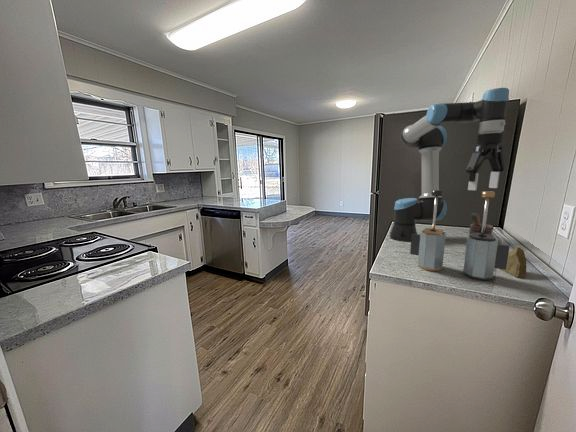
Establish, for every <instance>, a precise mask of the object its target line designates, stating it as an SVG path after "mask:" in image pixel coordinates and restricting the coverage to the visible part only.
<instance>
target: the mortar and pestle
mask: <svg viewBox="0 0 576 432" xmlns="http://www.w3.org/2000/svg"><path fill="white" fill-rule="evenodd" d="M470 216H471V220H472V222H473V223H471V224H470V225H469V231H468V232H469V233H468V235H471V234H472V233H478V234H481V230H482V223H481V222H480V215H479V213H477V212H472V213H471V214H470ZM493 228H494V227H493V225H491V224H487V223H486V227H485V234H487V235H493Z"/></svg>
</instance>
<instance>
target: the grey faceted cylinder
mask: <svg viewBox="0 0 576 432" xmlns="http://www.w3.org/2000/svg"><path fill="white" fill-rule="evenodd" d="M430 234H434V235H430ZM446 237H447V233H446V232H444V230H443V229H437V228H435V231H432V228H430V227H429V228H428V227H425V228H424V229H422V230H421V231H420V233H419V234H418V233H417V234H412V236H411V241H410V250H409V252H410V253H409V254H410V255H413V256H418V260H417V267H418V268H419V269H421V270H423V271H428V272H433V273H434V272H435V273H436V272H442V271H443V266H444V258H445V256H444V255H445V248H446Z"/></svg>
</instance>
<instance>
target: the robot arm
mask: <svg viewBox="0 0 576 432" xmlns="http://www.w3.org/2000/svg"><path fill="white" fill-rule="evenodd" d="M509 96H510V89H509V88H507V87H497V88H492V89H488V90H486V91H484V92H483V95H482V99H480V100H477V101H471V102H470V101H467V102H451V103H450V102H447V103H446V102H445V103H443V102H442V103H441V102H439V103H435V104H434V103H433V104H431V105H430V106H429V107H428V109H427V111H426V115H424V116H423V117H421V118H420V119H419V120H417V121H416V122H414V123H413V124H410V125H407V126H406V127H404V128H403V130H401V133H400V135H399V136H400V137H399V138H400V141H401V143H402V144H403V145H404V146H405V147H408V148H415V149H416V148H418V153H420V154H421V195H420V196H419V197H418V198H416V197H415V198H414V197H408V198H407V197H406V198H399V199H398V200H396V201H395V202H394V207H393V209H394V210H393V212H394V213H393V225H392V228H391V231H390V232H389V238H390V239H392V240H396V241H400V242H411V236H412V234H418V231H417V227H416V226H417V225H416V224H417V223H416V222H418V221H420V222H421V221H424V222H425V221H426V222H427V221H429V222H431V221H432V222H433V214H434V203H435V196H432V190H440V188H439V187H440V186H439V185H440V184H439V183H440V181H439V177H440V173H439V172H440V171H439V168H440V163H439V162H440V161H439V160H440V159H439V157H440V151H441V150H442V149H443V147H444V146H445V144H446V143H447V139H448V138H447V137H448V134H447V130H446V129H445V127H443V126H442V125H444V124H449V123H463V124H473V123H475V122H478V121H479V125H478V130H477V132H478V135H477V139H476V144H477V146H474V147H473V151H472V155H471V157H470V159H469V162H468V164H467V166H466V168H465V172H466V174H469V177H468V186H467V191H477V188H478V182H479V181H478V180H479V173H478V171H479V170H480V169H481V167H482V165H483V164H484V162H485V161H486V160H488V161H489V165H490V168H491V171H490V175H489V183H488V188H489V189H498V188H499V182H500V181H499V180H500V179H499V178H500V173H501V172H504V170H505V164H504V155H503V146H502V145H500V146H498V145H499V144H502V143H503V138H504V133H503V132H504V130H505V125H506V124H507V122H506V119H507V118H506V117H507V112H508V106H509V105H508V104H509V101H510V98H509ZM447 209H448V205H447V202H446V201H445V200H443V197H442V196H438V202H437V213H436V221H441V220H443V219H444V217H445V216H446V214H447Z"/></svg>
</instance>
